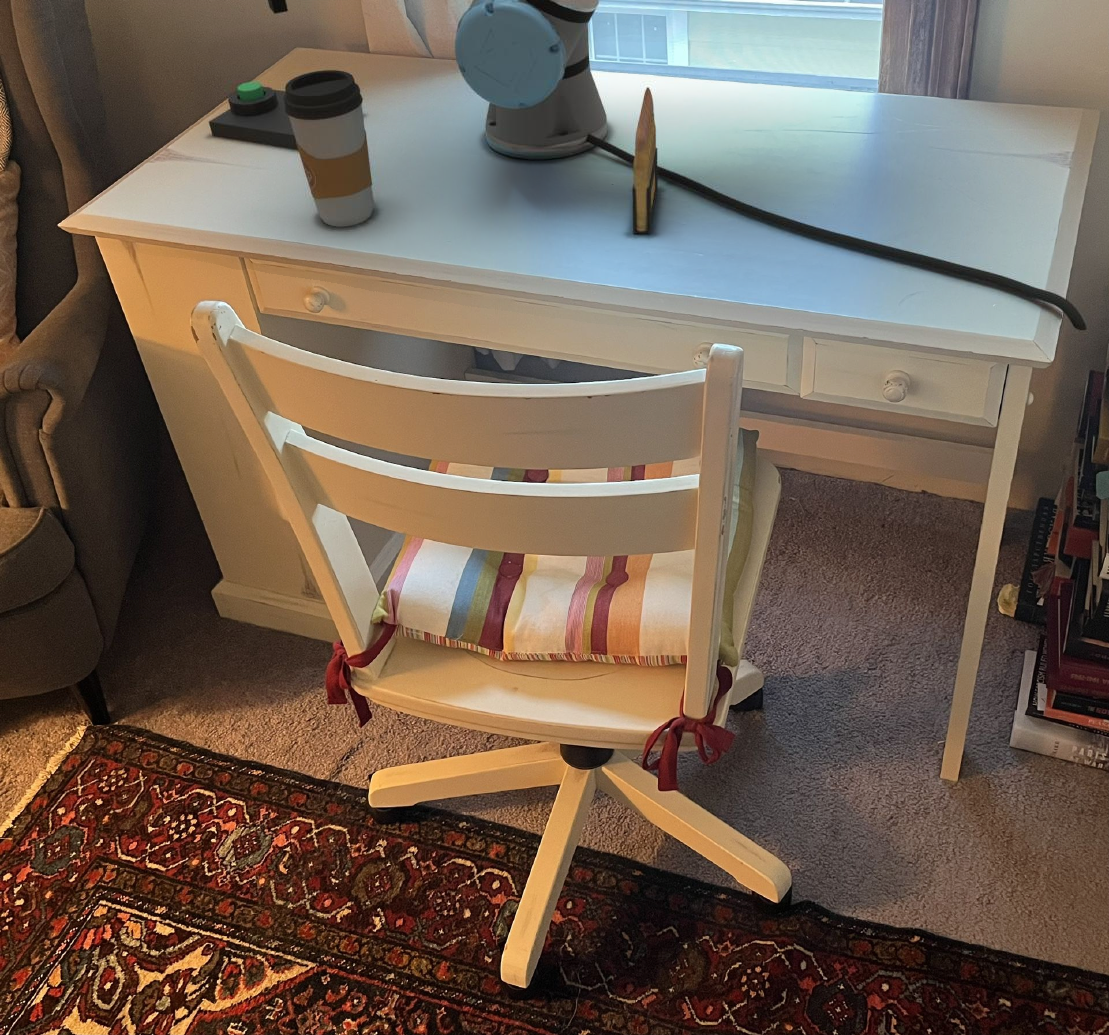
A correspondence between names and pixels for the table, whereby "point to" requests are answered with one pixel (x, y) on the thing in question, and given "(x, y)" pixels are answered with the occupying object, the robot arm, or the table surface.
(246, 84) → the button
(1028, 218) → the table surface
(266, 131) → the scale
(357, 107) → the coffee cup
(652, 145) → the ammunition clip
